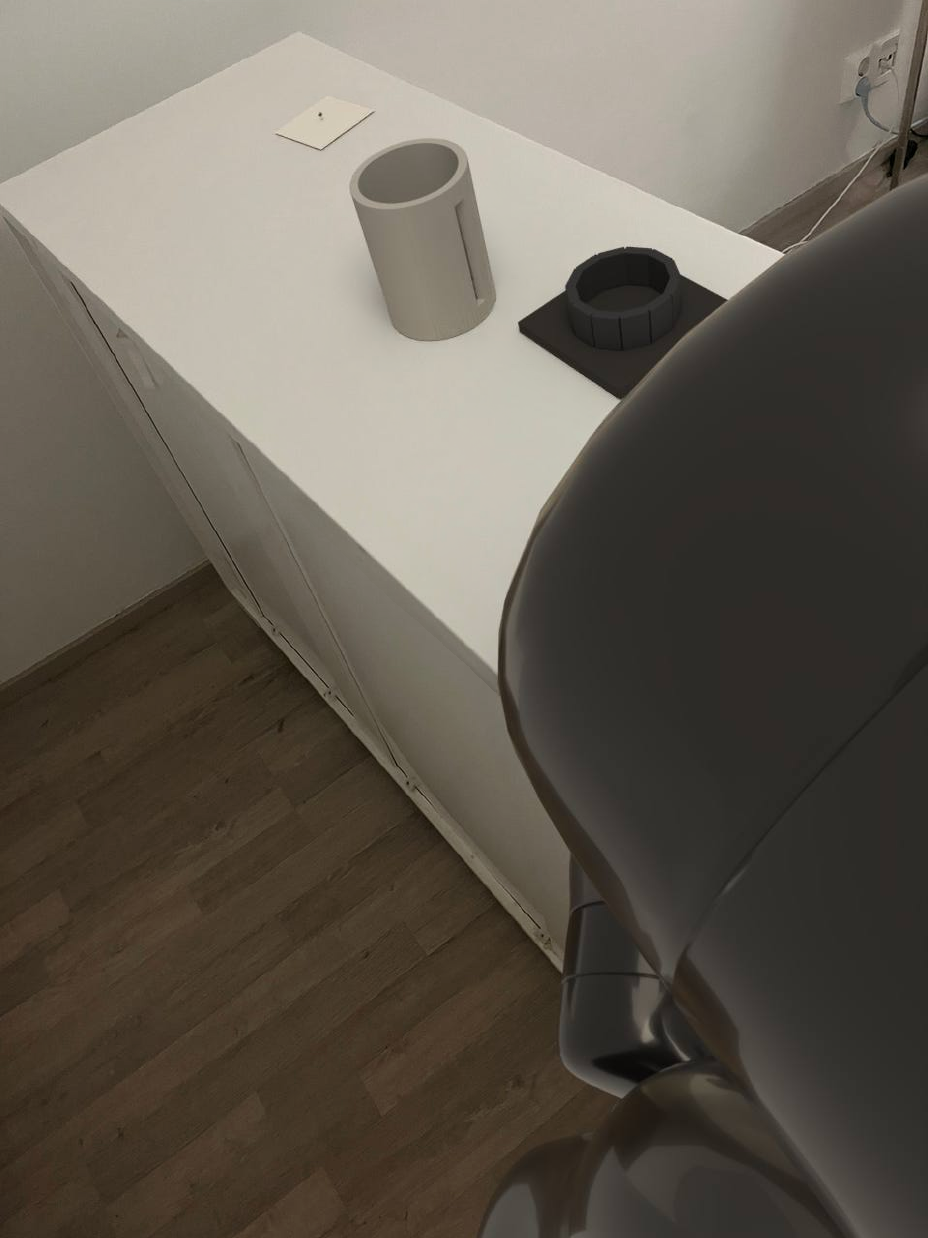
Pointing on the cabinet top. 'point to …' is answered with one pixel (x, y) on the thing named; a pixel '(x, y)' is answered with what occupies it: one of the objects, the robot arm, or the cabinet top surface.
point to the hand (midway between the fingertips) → (684, 517)
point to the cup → (425, 237)
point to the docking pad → (613, 362)
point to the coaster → (324, 122)
